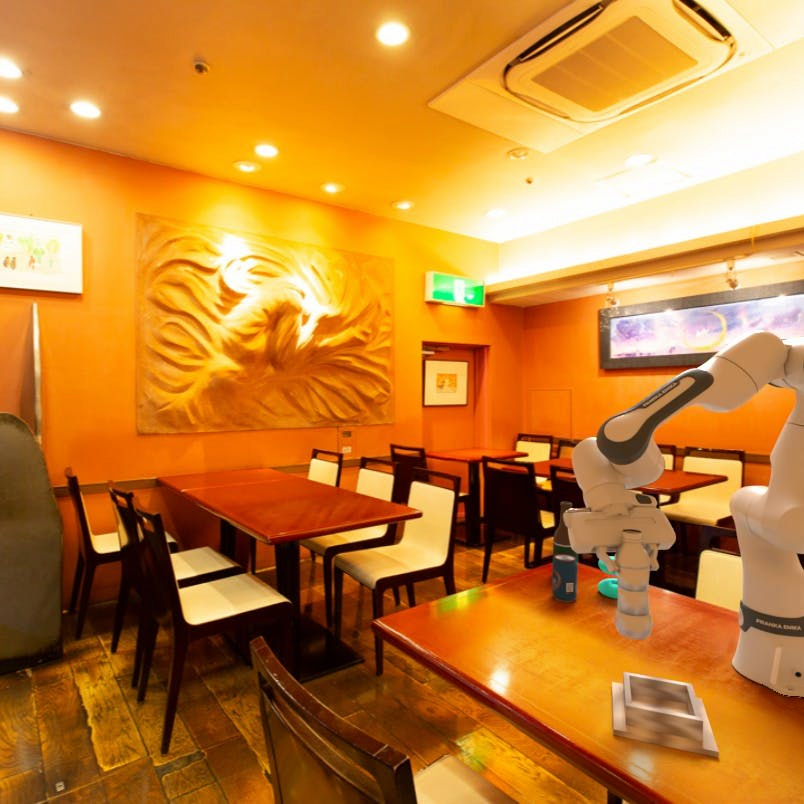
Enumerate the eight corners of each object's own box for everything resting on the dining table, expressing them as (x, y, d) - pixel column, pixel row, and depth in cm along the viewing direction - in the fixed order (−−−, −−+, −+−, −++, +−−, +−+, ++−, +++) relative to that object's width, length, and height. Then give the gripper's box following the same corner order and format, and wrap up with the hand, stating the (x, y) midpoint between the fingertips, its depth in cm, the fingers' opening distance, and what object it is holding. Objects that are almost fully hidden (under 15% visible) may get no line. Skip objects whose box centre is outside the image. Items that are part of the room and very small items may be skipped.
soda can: (548, 594, 156) (548, 553, 155) (570, 593, 156) (571, 553, 156) (557, 603, 149) (558, 561, 148) (581, 602, 149) (581, 560, 149)
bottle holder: (701, 703, 101) (701, 680, 101) (718, 757, 86) (719, 731, 86) (612, 686, 107) (612, 664, 107) (613, 734, 92) (614, 709, 92)
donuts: (642, 563, 153) (615, 567, 149) (642, 597, 153) (615, 602, 149) (616, 553, 162) (591, 557, 158) (616, 585, 162) (590, 590, 159)
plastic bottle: (660, 637, 99) (658, 531, 99) (639, 647, 95) (637, 537, 95) (628, 625, 105) (626, 525, 104) (607, 634, 101) (606, 530, 101)
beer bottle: (551, 578, 168) (552, 503, 168) (553, 570, 176) (554, 499, 175) (577, 581, 166) (578, 505, 165) (578, 573, 173) (579, 500, 172)
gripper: (564, 500, 106) (585, 565, 96) (662, 496, 107) (692, 559, 98) (556, 517, 110) (576, 580, 101) (651, 513, 112) (679, 575, 102)
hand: (634, 570), depth 99 cm, fingers closed on plastic bottle, 6 cm apart
